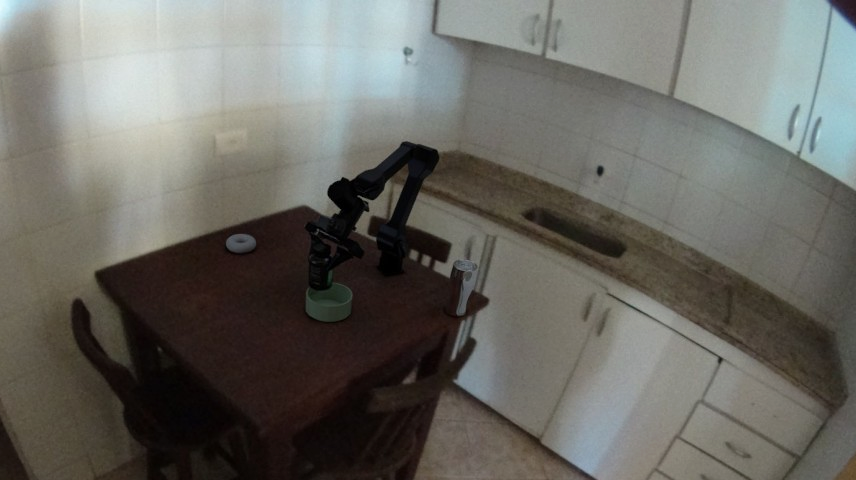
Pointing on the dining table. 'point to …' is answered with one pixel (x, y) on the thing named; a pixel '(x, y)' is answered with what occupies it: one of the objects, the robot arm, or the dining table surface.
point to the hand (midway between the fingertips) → (317, 266)
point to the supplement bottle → (320, 268)
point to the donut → (241, 243)
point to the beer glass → (460, 287)
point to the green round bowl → (329, 303)
